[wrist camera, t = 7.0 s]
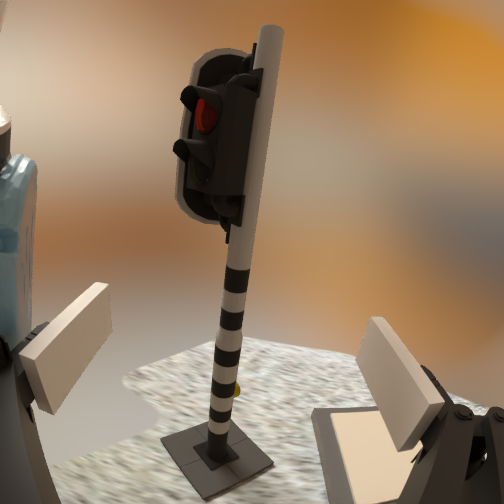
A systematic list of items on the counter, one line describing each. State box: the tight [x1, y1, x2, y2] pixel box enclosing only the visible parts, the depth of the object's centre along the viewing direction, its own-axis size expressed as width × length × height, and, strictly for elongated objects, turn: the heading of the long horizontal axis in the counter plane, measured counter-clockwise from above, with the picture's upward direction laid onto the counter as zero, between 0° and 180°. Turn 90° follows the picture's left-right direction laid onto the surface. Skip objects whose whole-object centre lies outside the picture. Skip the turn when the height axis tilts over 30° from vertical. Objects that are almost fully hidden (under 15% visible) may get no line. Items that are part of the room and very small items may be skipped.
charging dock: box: [311, 406, 423, 504], centre depth 21 cm, size 15×13×2 cm
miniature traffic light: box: [161, 24, 284, 499], centre depth 17 cm, size 8×8×30 cm
